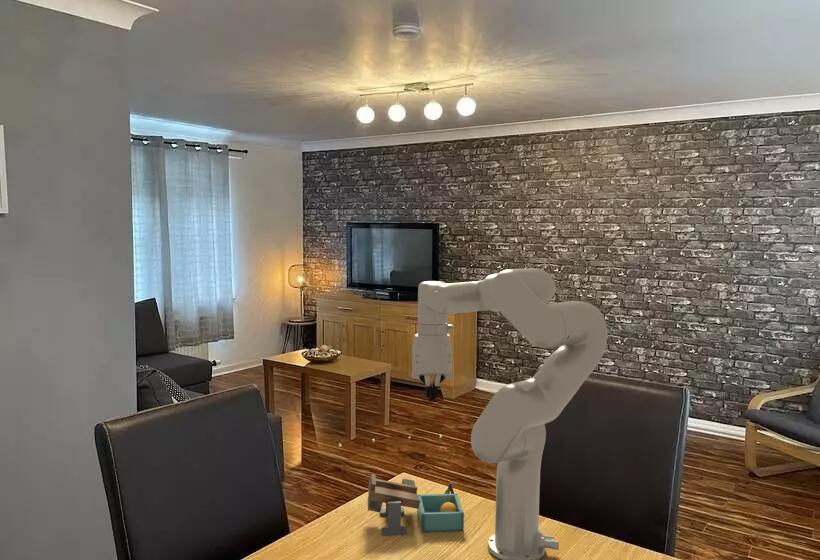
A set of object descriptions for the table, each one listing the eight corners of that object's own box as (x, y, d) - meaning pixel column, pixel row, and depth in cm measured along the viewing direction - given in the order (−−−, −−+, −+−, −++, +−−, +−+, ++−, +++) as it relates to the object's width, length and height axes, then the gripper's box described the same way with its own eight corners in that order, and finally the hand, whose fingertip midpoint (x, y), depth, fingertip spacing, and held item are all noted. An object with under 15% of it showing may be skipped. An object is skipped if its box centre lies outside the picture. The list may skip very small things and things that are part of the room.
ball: (434, 509, 153) (445, 521, 154) (441, 513, 149) (451, 524, 150) (445, 497, 154) (455, 508, 155) (452, 500, 151) (462, 512, 151)
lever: (410, 495, 161) (416, 471, 161) (415, 520, 148) (421, 494, 147) (365, 486, 160) (370, 462, 160) (365, 511, 146) (371, 485, 146)
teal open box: (456, 510, 158) (456, 493, 157) (463, 531, 147) (463, 513, 147) (417, 512, 157) (417, 494, 157) (421, 532, 147) (421, 514, 146)
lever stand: (403, 510, 158) (403, 481, 157) (407, 535, 145) (407, 503, 145) (379, 511, 157) (379, 482, 157) (381, 535, 145) (381, 504, 144)
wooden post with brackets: (458, 493, 166) (455, 480, 164) (446, 516, 160) (443, 503, 158) (451, 491, 167) (449, 479, 165) (439, 514, 161) (436, 501, 159)
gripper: (459, 327, 163) (458, 395, 165) (402, 327, 162) (401, 396, 164) (464, 332, 156) (462, 404, 158) (404, 332, 155) (403, 404, 156)
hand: (431, 400), depth 161 cm, fingers closed
